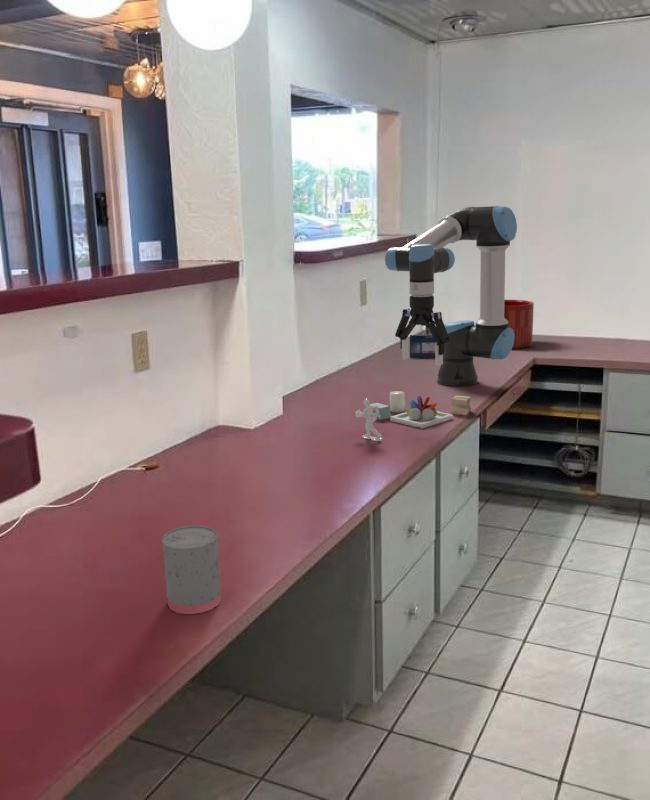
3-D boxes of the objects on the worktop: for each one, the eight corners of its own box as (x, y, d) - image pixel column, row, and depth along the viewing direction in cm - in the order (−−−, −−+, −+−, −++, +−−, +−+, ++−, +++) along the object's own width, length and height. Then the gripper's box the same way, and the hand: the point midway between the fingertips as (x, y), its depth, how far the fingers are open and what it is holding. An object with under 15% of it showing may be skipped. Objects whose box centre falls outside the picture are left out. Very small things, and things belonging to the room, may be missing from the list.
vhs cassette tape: (409, 358, 346) (409, 335, 344) (409, 356, 349) (409, 334, 346) (451, 358, 344) (451, 335, 341) (451, 356, 347) (451, 334, 344)
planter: (475, 342, 379) (476, 300, 374) (521, 340, 382) (523, 298, 377) (490, 350, 357) (492, 306, 352) (539, 348, 359) (541, 304, 354)
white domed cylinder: (396, 407, 264) (396, 390, 262) (408, 410, 260) (408, 392, 259) (386, 410, 260) (386, 393, 259) (397, 413, 257) (397, 395, 255)
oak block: (455, 410, 259) (456, 395, 258) (470, 411, 257) (470, 396, 256) (451, 413, 255) (451, 398, 254) (465, 415, 253) (466, 400, 251)
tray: (421, 411, 258) (421, 407, 257) (452, 418, 249) (452, 414, 248) (390, 420, 248) (390, 416, 248) (421, 428, 239) (422, 424, 238)
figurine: (379, 442, 226) (378, 402, 223) (351, 438, 231) (350, 398, 228) (386, 438, 230) (386, 398, 227) (359, 434, 235) (358, 395, 232)
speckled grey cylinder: (193, 583, 145) (189, 521, 142) (233, 597, 140) (229, 533, 137) (155, 605, 137) (150, 540, 134) (195, 620, 132) (190, 553, 129)
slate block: (377, 414, 256) (376, 402, 255) (389, 418, 252) (389, 406, 251) (367, 416, 254) (367, 404, 253) (380, 420, 250) (380, 408, 249)
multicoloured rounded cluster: (436, 422, 243) (436, 399, 241) (405, 421, 245) (405, 399, 243) (438, 415, 251) (438, 393, 249) (408, 414, 253) (408, 392, 251)
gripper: (383, 293, 249) (384, 358, 255) (446, 299, 232) (446, 369, 237) (399, 291, 254) (400, 355, 260) (461, 296, 237) (461, 365, 242)
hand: (422, 362), depth 249 cm, fingers open, 13 cm apart
